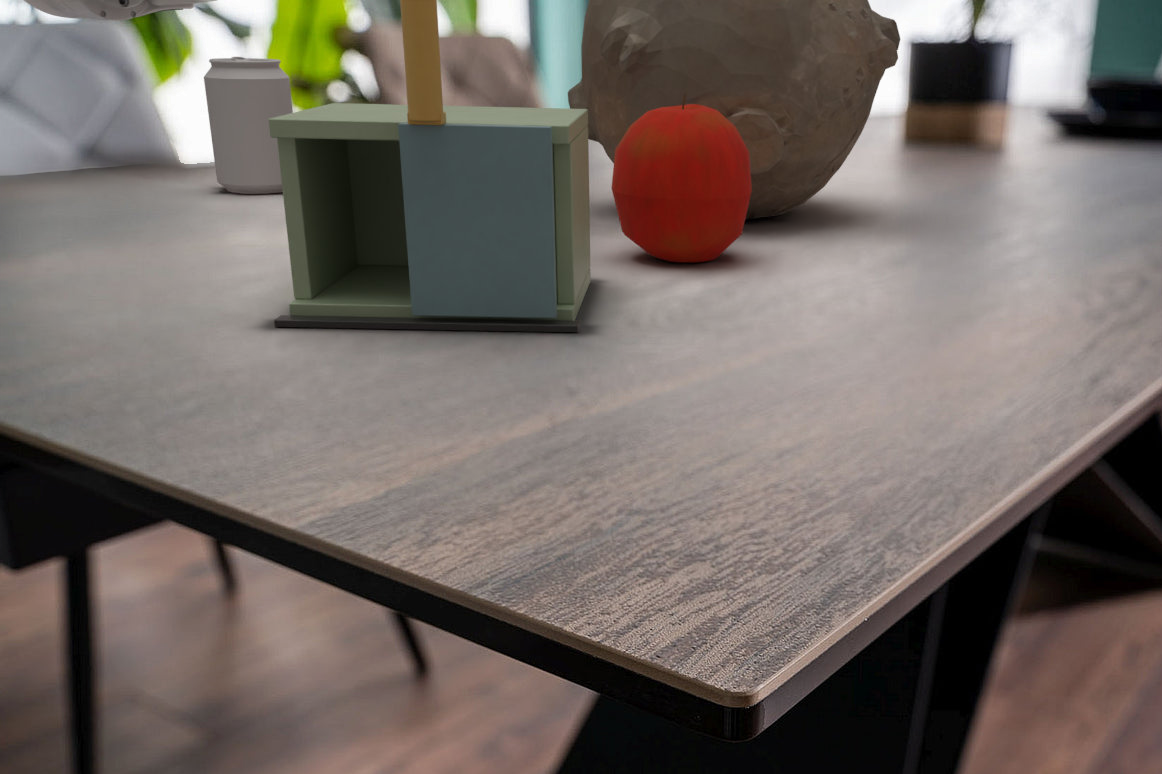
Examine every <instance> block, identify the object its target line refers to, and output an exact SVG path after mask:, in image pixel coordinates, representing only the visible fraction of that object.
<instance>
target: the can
mask: <svg viewBox="0 0 1162 774" xmlns="http://www.w3.org/2000/svg"><path fill="white" fill-rule="evenodd" d="M208 62H209V63H210V66H211V67H210V68H209V69H208V70H207V72H206V73H205V74H204V76H203V82H204V83H203V84H204V89H205V91H204V92H205V97H206V98H205V99H206V104H207V112H208V113H207V114H208V121H209V129H210V137H211V144H212V145H211V146H212V152H213V153H212V154H213V159H214V160H213V161H214V168H215V175H216V182H217V183H218V184H219V185H221V187H223V188H224V189H226V191H227V192H229V193H233V194H243V195H265V194H279V193H283V190H282V180H281V171H280V162H279V153H278V144H277V138H271V136H270V129H269V119H270V118H274V117H278V116H282V115H286V114H290V113H294V112H293V111H294V110H293V109H294V108H293V101H292V91H291V80H290V76H289V75H288V74H287V73H286V72H285V71H284V70H283V69H282V67H280V64H281V60H280V59H277V58H258V57H257V58H254V57H253V58H251V57H249V58H248V57H244V56H232V57H221V58H220V57H219V58H209V60H208Z"/></svg>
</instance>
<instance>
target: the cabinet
mask: <svg viewBox="0 0 1162 774" xmlns="http://www.w3.org/2000/svg"><path fill="white" fill-rule="evenodd" d="M443 112H445V113H446V123H445V124H476V125H519V126H551V127H552V156H553V192H554V229H555V265H556V301H557V316H556V318H507V317H454V316H413V315H412V308H411V294H410V280H409V267H408V253H407V239H406V226H405V212H404V198H403V184H402V171H401V157H400V143H399V130H398V124H399V123H408V120H407V113H408V105H407V104H391V103H390V104H388V103H347V102H346V103H345V102H343V103H342V102H331V103H328V104H324V105H323V104H322V105H319V106H315V107H312V108H308V109H303V110H299V111H294V112H293V113H290V114H286V115H282V116H278V117H274V118H270V119H269V129H270V136H271V138H277V144H278V153H279V162H280V171H281V180H282V190H283V192H282V197H283V206H284V216H285V225H286V233H287V234H286V235H287V243H288V252H289V262H290V270H291V279H292V289H293V298H294V300H292V301H291V302H289V303H288V308H289V314H281V315H279V316H278V317H276V318H275V319H273V324H274V327H275V328H308V329H309V328H311V329H312V328H313V329H314V328H316V329H317V328H318V329H367V330H368V329H369V330H372V329H373V330H419V331H420V330H425V331H427V330H429V331H471V332H472V331H475V332H476V331H478V332H479V331H480V332H482V331H483V332H487V331H488V332H525V333H526V332H527V333H528V332H529V333H530V332H532V333H533V332H534V333H578V332H579V330H580V327H581V323H580V322H581V321H580V320H576V319H577V317H578V314H579V311H580V309H581V306H582V304H583V302H584V300H585V297H586V294H587V291H588V289H589V287H590V283H591V279H592V277H591V274H592V273H591V221H590V220H591V218H590V217H591V214H590V159H589V158H590V156H589V155H590V154H589V150H590V149H589V139H588V126H587V125H588V110H587V109H570V108H562V107H561V108H560V107H559V108H557V107H553V108H552V107H520V106H519V107H518V106H517V107H516V106H515V107H513V106H478V105H477V106H471V105H443Z"/></svg>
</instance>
